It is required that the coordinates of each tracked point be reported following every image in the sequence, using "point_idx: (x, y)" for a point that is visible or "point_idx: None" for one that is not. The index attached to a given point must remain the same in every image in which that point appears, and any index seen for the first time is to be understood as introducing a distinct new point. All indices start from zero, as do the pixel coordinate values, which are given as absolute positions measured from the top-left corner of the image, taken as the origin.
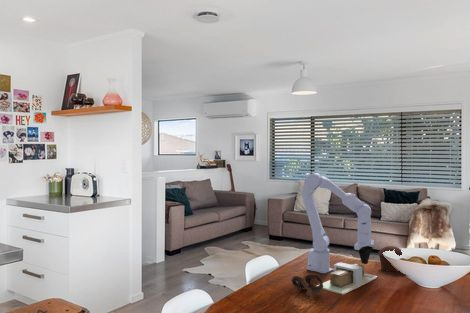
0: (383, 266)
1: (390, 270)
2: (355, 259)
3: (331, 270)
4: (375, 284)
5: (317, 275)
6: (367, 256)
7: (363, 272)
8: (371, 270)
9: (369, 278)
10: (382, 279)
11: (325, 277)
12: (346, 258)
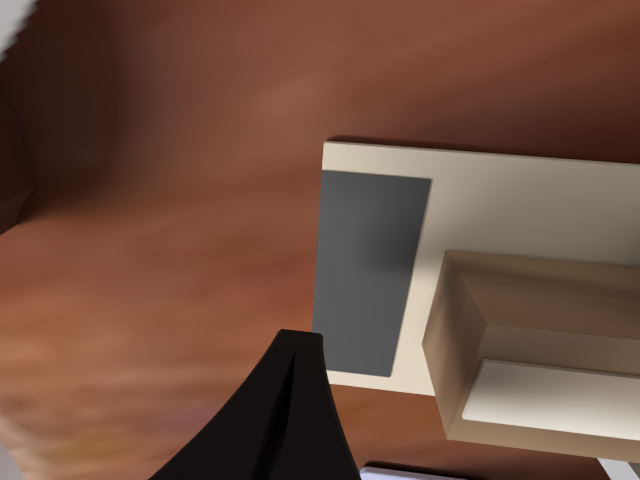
0: (4, 204)
1: (6, 113)
2: (16, 432)
3: (396, 471)
4: (617, 55)
5: None
6: (309, 426)
7: (480, 274)
8: (152, 271)
9: (462, 186)
10: (360, 66)
11: (575, 456)
12: (53, 471)
